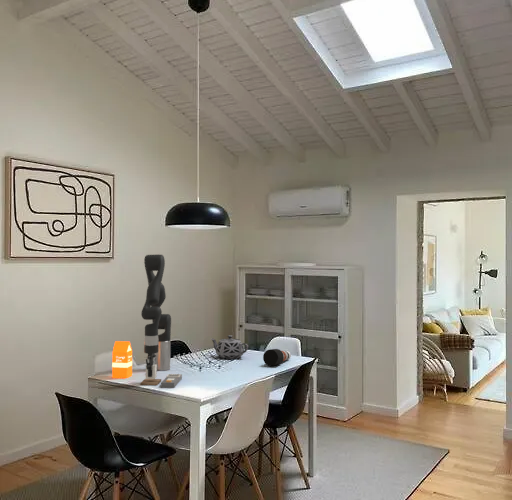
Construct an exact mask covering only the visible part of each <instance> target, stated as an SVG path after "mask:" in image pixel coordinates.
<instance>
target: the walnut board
mask: <svg viewBox="0 0 512 500" xmlns="http://www.w3.org/2000/svg"><path fill="white" fill-rule="evenodd" d="M161 382H162V378H155V379H146V378H144V379H143V380H142V381H140V384H139V385H140V386H158V385H160V384H161Z"/></svg>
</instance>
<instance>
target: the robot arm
mask: <svg viewBox="0 0 512 500" xmlns="http://www.w3.org/2000/svg"><path fill="white" fill-rule="evenodd" d="M165 259H166V258H165V256H164V255H163V254H146V255H145V256H144V262H143V263H144V264H143V265H144V268H145V273H146V278H147V284H148V286H147V289H146V295H145V297H146V299H145V302H144V305H143V307H142V309H141V317H142V319H143V320H146V321H149V320H151V321H152V323H148V324H146V325H145V327H144V337H143V338H144V340H143V346H144V347H143V352H144V354H147V356H146V359H145V368H146V367H147V370H148V377H152V369H153V365H154V364H157V371H169V370H171V334H172V333H171V329H172V317H171V314H169V313H162V312H163V311H162V309H161V307H162V305H163V303H164V302H165V300H166V297H167V296H166V295H167V294H166V287H165V286H164V284H163V283H162V280H163V276H164V272H165V268H166V267H165V264H166V263H165V262H166V260H165ZM154 272H157V273H156V275H155V273H154ZM159 330H164V331H163V332H162V333H160V334H159ZM151 363H152V364H151ZM149 366H150V367H149Z"/></svg>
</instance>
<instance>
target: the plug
mask: <svg viewBox="0 0 512 500" xmlns="http://www.w3.org/2000/svg"><path fill="white" fill-rule="evenodd" d="M151 364H152V363H151ZM149 367H150V366H149ZM157 371H158V370H157V364H154V365H153V369H152V377H148V370H147V367H146V366H145V379H158V377H157V376H158V375H157V373H158V372H157Z"/></svg>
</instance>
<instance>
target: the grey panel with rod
mask: <svg viewBox="0 0 512 500" xmlns="http://www.w3.org/2000/svg"><path fill="white" fill-rule="evenodd" d="M182 378H183V374H182V373H180V374H179V373H169V374H167V375H166V377H164V379H163V380H161V382H160V388H163V389H164V388H167V389H175V388H176V386H177V385H178V384H179V383H180V382H181V381H182V380H183V379H182Z"/></svg>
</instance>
